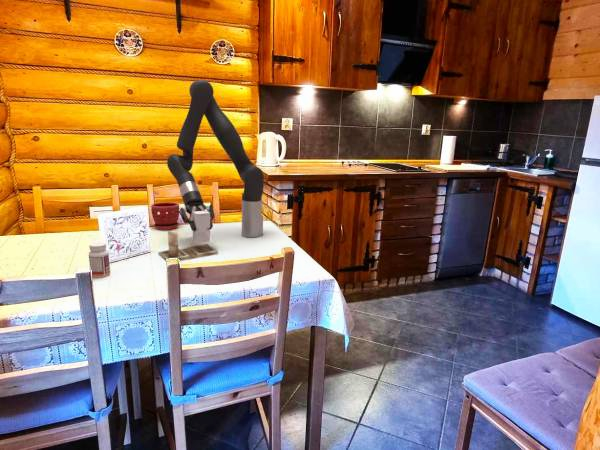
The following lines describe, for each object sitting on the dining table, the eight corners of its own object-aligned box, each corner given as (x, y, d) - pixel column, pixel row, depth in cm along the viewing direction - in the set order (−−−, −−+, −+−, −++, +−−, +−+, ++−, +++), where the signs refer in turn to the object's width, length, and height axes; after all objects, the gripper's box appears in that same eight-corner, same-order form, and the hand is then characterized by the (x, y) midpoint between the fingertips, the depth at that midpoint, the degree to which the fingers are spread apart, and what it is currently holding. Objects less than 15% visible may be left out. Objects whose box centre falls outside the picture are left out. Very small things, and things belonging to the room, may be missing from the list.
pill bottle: (106, 270, 147) (103, 240, 144) (113, 275, 143) (110, 244, 140) (87, 274, 142) (84, 243, 139) (95, 279, 138) (91, 247, 135)
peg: (176, 254, 162) (175, 229, 160) (179, 256, 160) (179, 232, 157) (167, 255, 160) (166, 231, 158) (170, 258, 157) (169, 233, 155)
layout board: (205, 247, 175) (205, 243, 174) (219, 256, 165) (219, 251, 164) (157, 256, 163) (157, 250, 162) (168, 266, 153) (168, 260, 152)
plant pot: (185, 227, 205) (184, 203, 202) (164, 232, 194) (163, 208, 191) (168, 222, 211) (166, 200, 208) (146, 228, 201) (145, 204, 198)
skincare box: (196, 243, 162) (195, 214, 159) (192, 240, 166) (191, 211, 163) (210, 241, 166) (210, 212, 163) (206, 238, 169) (206, 210, 166)
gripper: (176, 191, 162) (188, 226, 156) (209, 188, 171) (222, 222, 165) (171, 201, 168) (183, 236, 162) (204, 198, 176) (216, 232, 170)
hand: (203, 229), depth 163 cm, fingers closed on skincare box, 6 cm apart
